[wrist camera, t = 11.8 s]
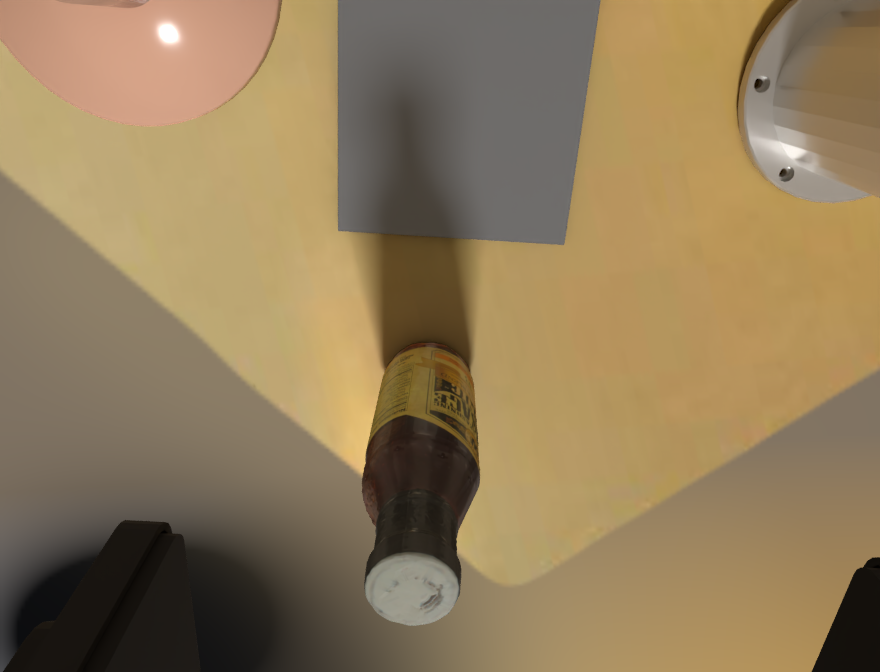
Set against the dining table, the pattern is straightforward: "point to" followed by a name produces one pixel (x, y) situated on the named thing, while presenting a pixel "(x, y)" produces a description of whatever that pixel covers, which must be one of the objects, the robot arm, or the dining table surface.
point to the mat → (461, 116)
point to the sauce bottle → (420, 482)
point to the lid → (141, 53)
